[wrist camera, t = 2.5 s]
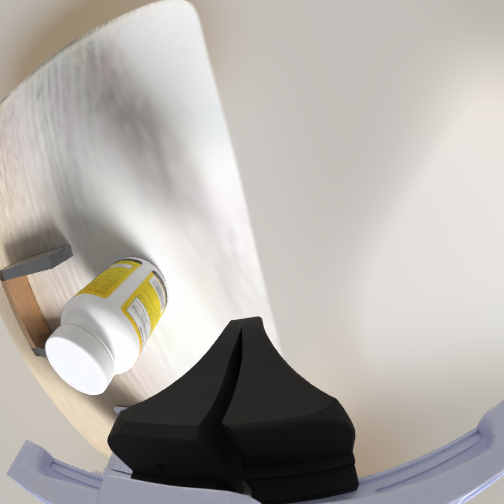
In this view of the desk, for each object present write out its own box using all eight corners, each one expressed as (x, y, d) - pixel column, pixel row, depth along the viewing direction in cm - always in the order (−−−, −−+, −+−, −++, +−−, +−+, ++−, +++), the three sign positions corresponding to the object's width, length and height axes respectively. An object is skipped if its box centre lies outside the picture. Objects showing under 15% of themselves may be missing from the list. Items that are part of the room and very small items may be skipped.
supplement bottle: (100, 290, 20) (30, 359, 11) (126, 241, 19) (42, 300, 9) (151, 329, 21) (103, 416, 12) (183, 284, 20) (133, 374, 10)
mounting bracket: (107, 340, 21) (93, 359, 19) (49, 341, 22) (35, 355, 19) (69, 244, 19) (48, 256, 16) (16, 261, 19) (-3, 272, 16)
